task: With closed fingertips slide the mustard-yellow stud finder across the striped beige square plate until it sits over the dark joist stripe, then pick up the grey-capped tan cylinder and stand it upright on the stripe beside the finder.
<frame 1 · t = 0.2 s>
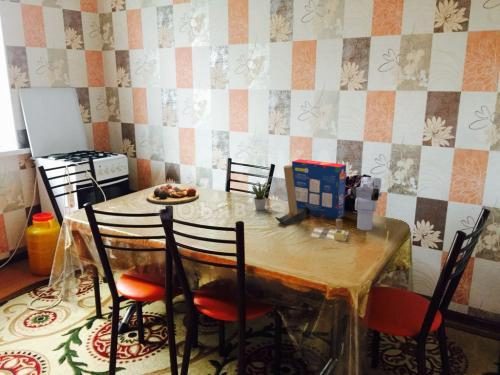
hand: (362, 197, 186), 21 cm above the table, tool horizontal, fingers open, 7 cm apart
grey-capped tan cylinder: (338, 231, 203), point 1 cm above the table, touching striped beige square plate
striped beige square plate: (329, 235, 201), on the table
hammer: (293, 221, 223), on the table
wooden plate with food: (173, 198, 269), on the table
blue product box: (316, 213, 235), on the table
house plant: (262, 208, 245), on the table
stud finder: (339, 238, 196), point 1 cm above the table, touching striped beige square plate
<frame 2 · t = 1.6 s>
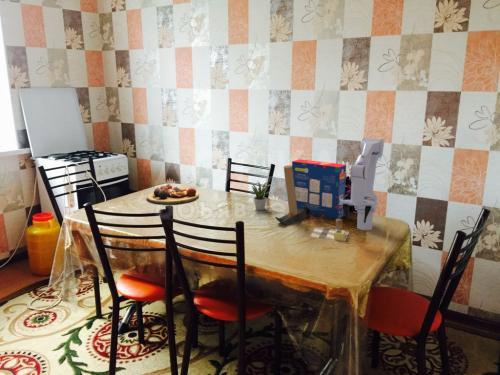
hand: (356, 221, 191), 9 cm above the table, tool pointing down, fingers open, 7 cm apart
nothing on the table moved.
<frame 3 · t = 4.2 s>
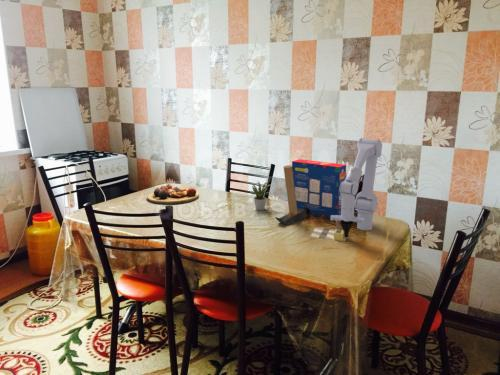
hand: (346, 236, 194), 2 cm above the table, tool pointing down, fingers closed
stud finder: (339, 237, 196), point 1 cm above the table, touching gripper, striped beige square plate
everything else where it was.
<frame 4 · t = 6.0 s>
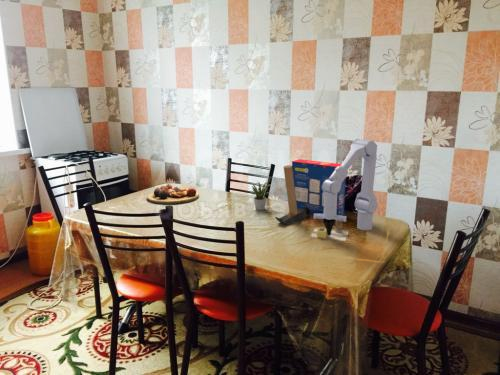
hand: (329, 234, 197), 2 cm above the table, tool pointing down, fingers closed
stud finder: (322, 236, 198), point 1 cm above the table, touching gripper, striped beige square plate
everything else where it was.
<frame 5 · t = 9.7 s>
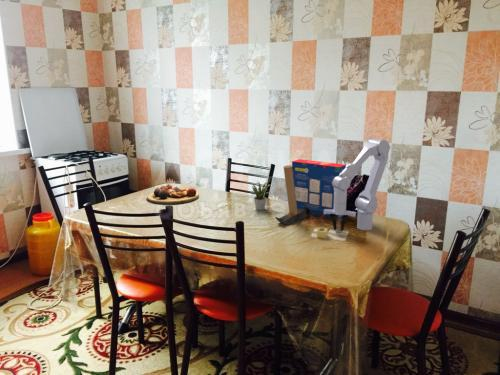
hand: (338, 229, 203), 2 cm above the table, tool pointing down, fingers closed on grey-capped tan cylinder, 3 cm apart
grey-capped tan cylinder: (338, 231, 203), point 1 cm above the table, touching gripper, striped beige square plate
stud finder: (322, 236, 198), point 1 cm above the table, touching striped beige square plate
everything else where it was.
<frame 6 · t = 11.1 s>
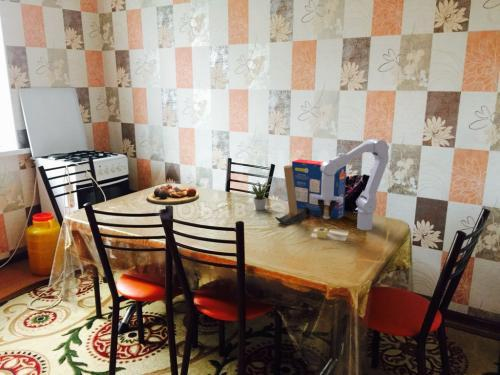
hand: (326, 215, 204), 8 cm above the table, tool pointing down, fingers closed on grey-capped tan cylinder, 3 cm apart
grey-capped tan cylinder: (326, 217, 204), point 7 cm above the table, touching gripper
everything else where it was.
when the fingers open (3 cm above the table, at t = 12.3 s): grey-capped tan cylinder stays where it is, resting on striped beige square plate.
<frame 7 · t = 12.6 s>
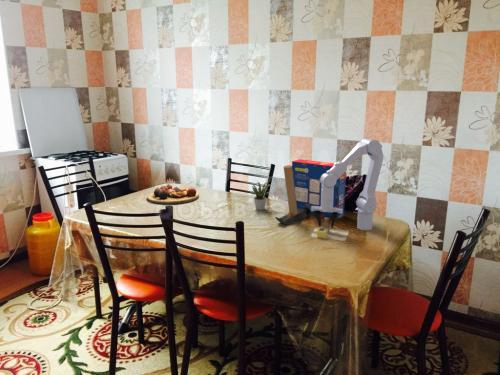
hand: (326, 226, 205), 3 cm above the table, tool pointing down, fingers open, 5 cm apart
grey-capped tan cylinder: (326, 230, 205), point 1 cm above the table, touching striped beige square plate
everything else where it was.
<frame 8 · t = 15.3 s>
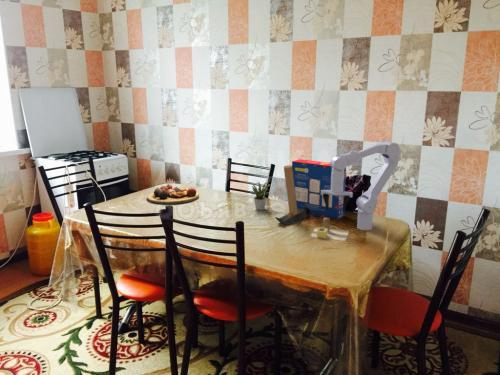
hand: (335, 210, 205), 10 cm above the table, tool pointing down, fingers open, 7 cm apart
nothing on the table moved.
at the end: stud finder inside the target area (0.1 cm from its centre), point 0.8 cm above the table; grey-capped tan cylinder 0.5 cm from the target spot, point 0.8 cm above the table; grey-capped tan cylinder tilted 0° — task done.
